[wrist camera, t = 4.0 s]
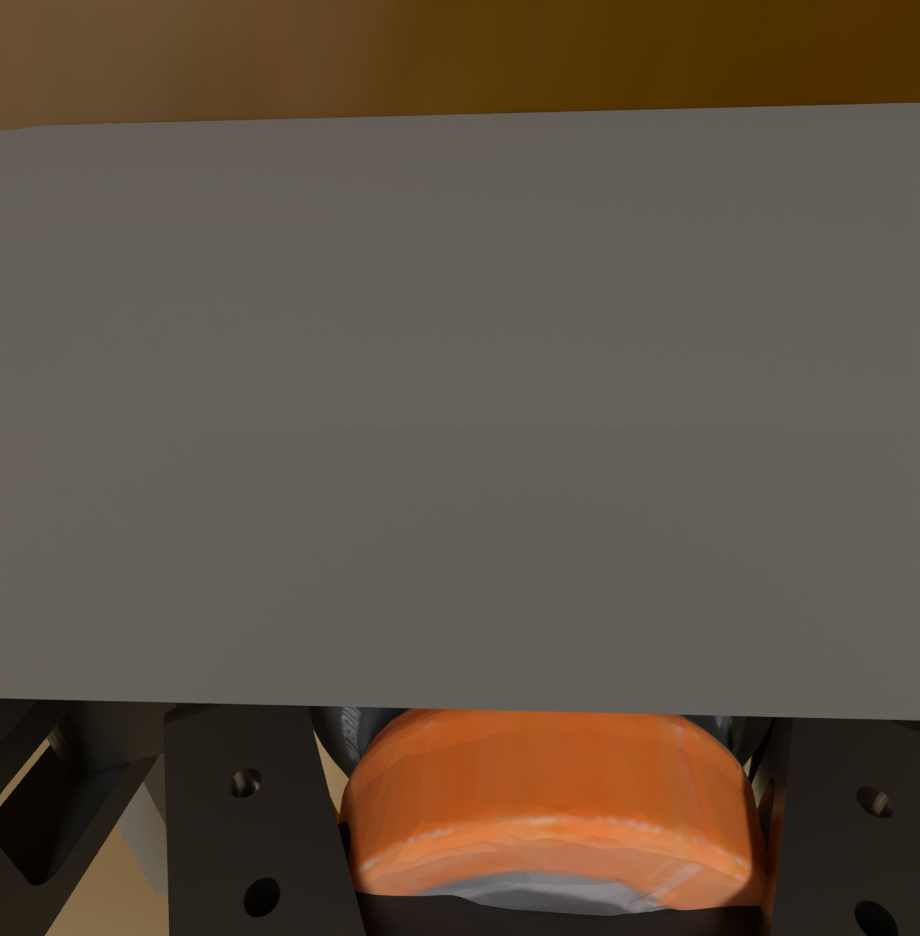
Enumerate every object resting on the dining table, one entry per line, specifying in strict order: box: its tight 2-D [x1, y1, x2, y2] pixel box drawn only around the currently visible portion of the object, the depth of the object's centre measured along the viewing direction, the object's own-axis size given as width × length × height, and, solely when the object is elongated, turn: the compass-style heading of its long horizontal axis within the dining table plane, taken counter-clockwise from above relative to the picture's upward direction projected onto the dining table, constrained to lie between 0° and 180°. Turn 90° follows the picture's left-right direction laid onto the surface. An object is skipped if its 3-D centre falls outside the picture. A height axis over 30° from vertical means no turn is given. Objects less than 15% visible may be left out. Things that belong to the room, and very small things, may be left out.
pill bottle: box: [307, 706, 773, 916], centre depth 10 cm, size 6×6×11 cm
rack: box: [0, 103, 920, 894], centre depth 11 cm, size 18×18×12 cm
